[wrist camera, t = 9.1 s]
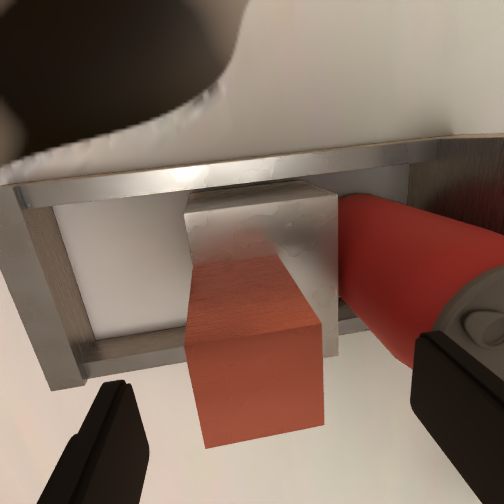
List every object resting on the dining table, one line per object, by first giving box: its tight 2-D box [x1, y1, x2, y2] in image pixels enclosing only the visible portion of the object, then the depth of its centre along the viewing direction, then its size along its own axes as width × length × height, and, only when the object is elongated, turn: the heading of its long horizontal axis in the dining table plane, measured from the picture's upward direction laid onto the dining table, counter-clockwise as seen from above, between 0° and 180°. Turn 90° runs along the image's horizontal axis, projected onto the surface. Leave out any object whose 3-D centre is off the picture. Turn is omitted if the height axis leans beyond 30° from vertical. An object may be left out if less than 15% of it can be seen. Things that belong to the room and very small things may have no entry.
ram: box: [184, 180, 338, 449], centre depth 15 cm, size 7×9×12 cm
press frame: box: [0, 133, 504, 391], centre depth 17 cm, size 28×12×9 cm, turn 95°
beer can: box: [338, 194, 504, 381], centre depth 16 cm, size 7×7×12 cm
